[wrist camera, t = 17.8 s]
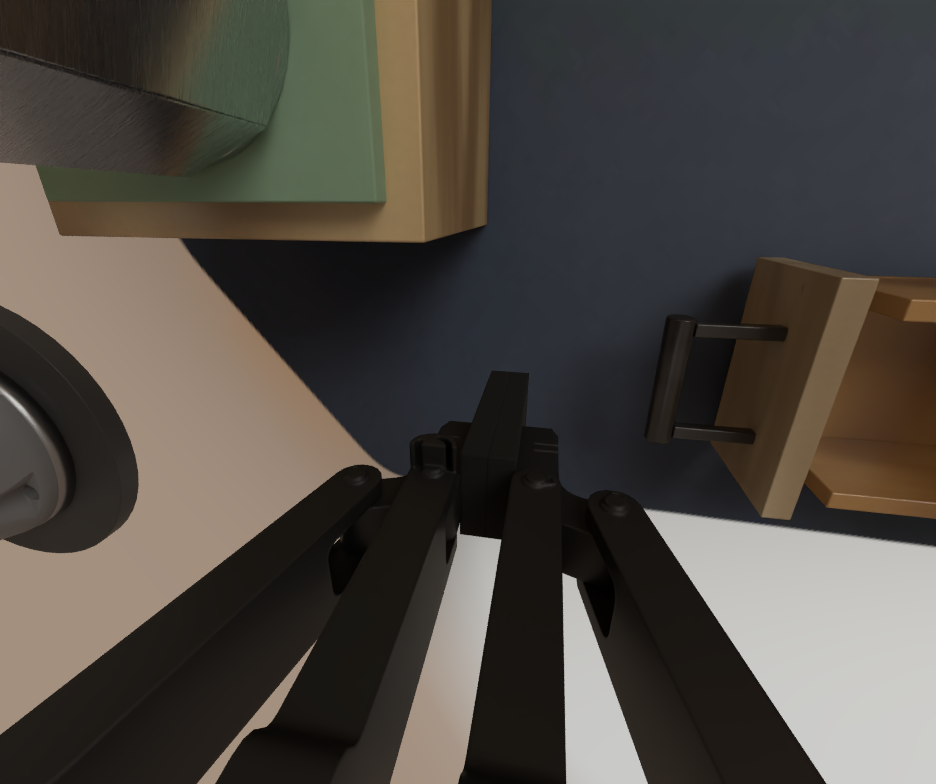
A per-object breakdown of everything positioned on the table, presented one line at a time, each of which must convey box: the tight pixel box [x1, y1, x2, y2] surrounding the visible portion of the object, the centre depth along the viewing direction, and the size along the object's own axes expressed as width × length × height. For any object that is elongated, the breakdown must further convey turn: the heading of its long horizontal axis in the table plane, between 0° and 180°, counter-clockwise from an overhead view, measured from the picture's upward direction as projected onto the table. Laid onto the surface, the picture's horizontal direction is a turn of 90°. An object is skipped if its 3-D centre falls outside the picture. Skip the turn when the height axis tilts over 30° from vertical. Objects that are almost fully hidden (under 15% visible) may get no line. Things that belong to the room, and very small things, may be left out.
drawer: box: [644, 257, 936, 520], centre depth 20 cm, size 18×10×7 cm, turn 90°
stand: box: [48, 0, 492, 243], centre depth 17 cm, size 12×10×13 cm
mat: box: [36, 0, 387, 203], centre depth 11 cm, size 10×8×1 cm
